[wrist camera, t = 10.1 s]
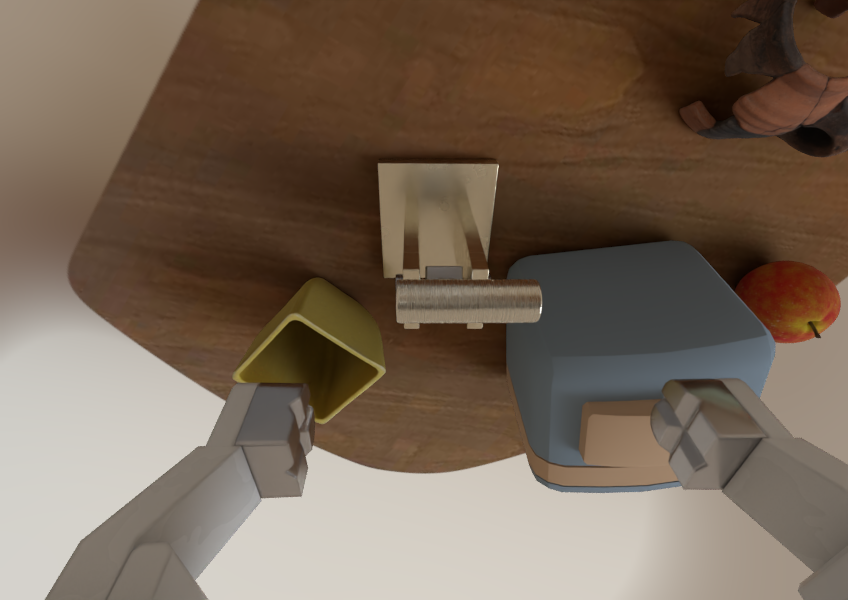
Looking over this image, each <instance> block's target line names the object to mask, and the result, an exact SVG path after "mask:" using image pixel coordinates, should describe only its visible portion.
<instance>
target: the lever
mask: <svg viewBox="0 0 848 600" xmlns="http://www.w3.org/2000/svg"><path fill="white" fill-rule="evenodd" d="M541 311H542V291H541V287H540V284H539V282H538V281H537V280H535V279H463V267H462V266H425V279H399V280H397V282H396V321H397V323H536V322H538V320H539V318H540V316H541Z"/></svg>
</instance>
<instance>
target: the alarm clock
mask: <svg viewBox="0 0 848 600" xmlns="http://www.w3.org/2000/svg"><path fill="white" fill-rule="evenodd" d="M507 279H535V280H537V281H538V282H539V284H540V287H541V291H542V311H541V316H540V318H539V320H538V322H536V323H506V362H507V363H506V370H507V385H508V389H509V393H510V396H511V400H512V404H513V407H514V411H515V415H516V418H517V422H518V426H519V429H520V433H521V437H522V440H523V444H524V448H525V451H526V455H527V458H528V462H529V465H530V468H531V470H532V473H533V474H534V476H535V478H536V480H537V481H538V482H540V483H542V484H543V485H545V486H546V487H548V488H550V489H553V490H557V491H560V492H584V493H587V492H588V493H613V492H643V491H650V490H657V489H664V488H671V487H678V486H681V484H680V482H679V480H678V479H677V477H676V475H675V473H674V471H673V470H672V468H671V466H670V464H669V463H668V460H669V455H670V453H669V452H668V451H666V450H665V449H664V448H662V447H661V446H660V445H658V443H657V441H656V439H655V437H654V435H653V432H652V429H651V426H650V414H651V411H652V409H653V407H654V404H656V403H657V402H658V401H660V400H661V399H663V398H664V395H663V394H662V392H661V390H662V388H663V387H664V385H665V383H666V382H668V381H669V380H671V379H709V378H711V379H717V378H739V379H740V380H742V381H744V382H745V383H746V384H747V385H748V386H749V387H750V388H751V389H752V390H753V392H754V393H755V394H756V395H757V396H758V397H759V398H760V396H761V393H762V390H763V387H764V384H765V382H766V379H767V376H768V373H769V370H770V367H771V365H772V362H773V359H774V356H775V341H774V339H773V337H772V335H771V333H770V331H769V330H768V329H767V328H766V327H765V326H764V325H763V323H762V322H761V321H760V320H759V319H758V318H757V317H756V316H755V314H754V313H753V312H752V311H751V310H750V309H749V308H748V307H747V305H746V304H745V303H744V302H743V301H742V300H741V299H740V298H739V297H738V295H737V294H736V293H735V292H734V291H733V290H732V289H731V288H730V286H729V285H728V284H727V283H726V282H725V281H724V280H723V279H722V277H721V276H720V275H719V274H718V273H717V272H716V271H715V270H714V269H713V267H712V266H711V265H710V264H709V263H708V262H707V261H706V260H705V258H704V257H703V256H702V255H701V254H700V253H699V252H698V251H697V250H696V249H695V248H694V247H692V246H691V245H689V244H687V243H686V242H682V241H663V242H654V243H645V244H635V245H626V246H617V247H608V248H598V249H589V250H580V251H571V252H561V253H552V254H543V255H534V256H528V257H525V258H522V259H519V260H518V261H517V262H516V263H515V264H513V265H512V266H511V267H510V268H509V272H508V275H507Z"/></svg>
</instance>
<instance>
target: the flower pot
mask: <svg viewBox="0 0 848 600" xmlns="http://www.w3.org/2000/svg"><path fill="white" fill-rule="evenodd" d="M385 372H386V369H385V361H384V353H383V345H382V338H381V333H380V330H379V327H378V325H377V323H376V321H375V320H374V318H373V317H372V315H371V314H370V313H369V312H368V311H367V310H366V309H365V308H364V307H363V306H362V305H361V304H360V303H358V302H357V301H355V300H354V299H352V298H351V297H349V296H348V295H346V294H345V293H343V292H342V291H340V290H339V289H338V288H336V287H335V286H333V285H332V284H330V283H329V282H328V281H326V280H325V279H323V278H319V277H316V278H312V279H310V280H308V281H307V282H306V283H305V284H304V285H303V286H302V287H301V288H300V290H299V291H298V292H297V293H296V294H295V295H294V296H293V297H292V298H291V300H290V301H289V302H288V303H287V304H286V305H285V306H284V307H283V308H282V309H281V310H280V311H279V312H278V314H277V315H276V316H275V317H274V318H273V319H272V320H271V321H270V322H269V323H268V324H267V325H266V326H265V327H264V328H263V329H262V330H261V331H260V333H259V334H258V335H257V337H256V338H255V339H254V341H253V343H252V344H251V346H250V347H249V349H248V350H247V352H246V354H245V355H244V357H243V358H242V360H241V362H240V363H239V365H238V366H237V368H236V369H235V371H234V373H233V375H232V378H233V379H234V380H235V381H237V382H239V383H306V384H308V386H309V390H310V394H311V395H310V399H309V403H308V404H309V405H310V406H311V407H313V409H314V415H315V422H318V423H320V424H324V423H326V422H327V421H329V420H330V419H331V418H332V417H333V416H334V415H336V414H337V413H338V412H339V411H340V410H342V409H343V408H344V407H345V406H346V405H348V404H349V403H350V402H351V401H352V400H354V399H355V398H356V397H357V396H359V395H360V394H361V393H362V392H363V391H365V390H366V389H367V388H368V387H370V386H371V385H372V384H373V383H374V382H376V381H377V380H378V379H379V378H381V377H382V376H383V375H384V374H385Z"/></svg>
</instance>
